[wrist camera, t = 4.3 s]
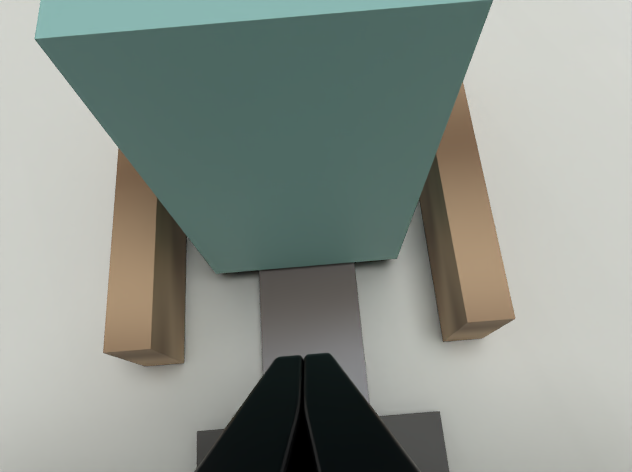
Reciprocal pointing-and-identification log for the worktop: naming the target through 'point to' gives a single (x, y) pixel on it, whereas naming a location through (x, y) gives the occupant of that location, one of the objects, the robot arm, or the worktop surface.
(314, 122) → the block
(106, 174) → the worktop surface
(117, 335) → the channel
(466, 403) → the worktop surface
